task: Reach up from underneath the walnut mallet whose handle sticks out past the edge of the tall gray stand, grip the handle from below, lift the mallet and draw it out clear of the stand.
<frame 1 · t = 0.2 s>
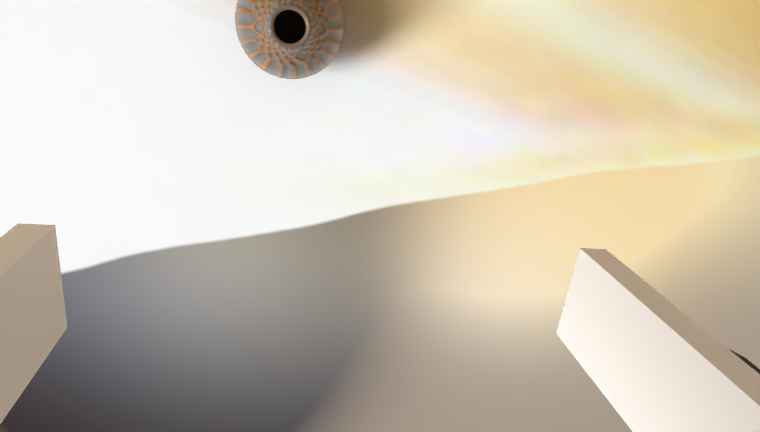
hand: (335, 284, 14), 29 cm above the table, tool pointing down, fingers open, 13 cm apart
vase: (291, 21, 38), on the table
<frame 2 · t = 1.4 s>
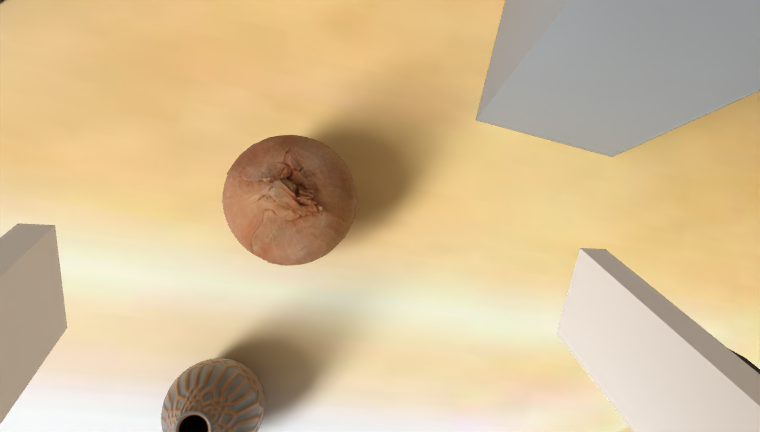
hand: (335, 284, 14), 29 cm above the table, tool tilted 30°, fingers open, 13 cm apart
gray stand: (569, 29, 46), on the table
onion: (298, 208, 43), on the table
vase: (227, 396, 42), on the table
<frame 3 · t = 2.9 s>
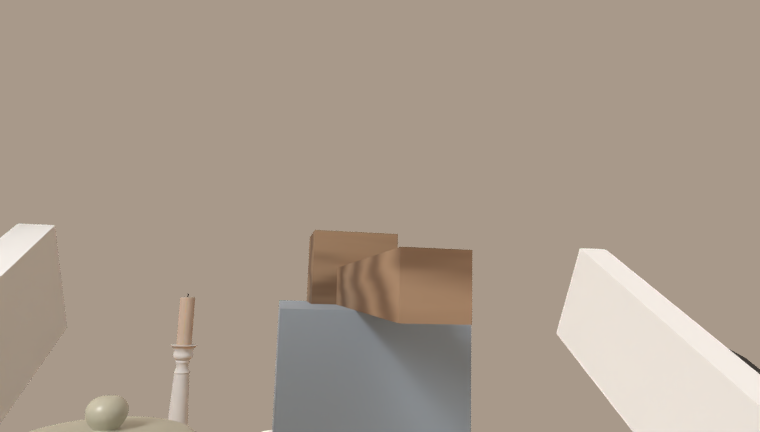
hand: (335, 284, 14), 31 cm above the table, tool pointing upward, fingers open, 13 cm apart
walnut mallet: (370, 308, 36), point 30 cm above the table, touching gray stand
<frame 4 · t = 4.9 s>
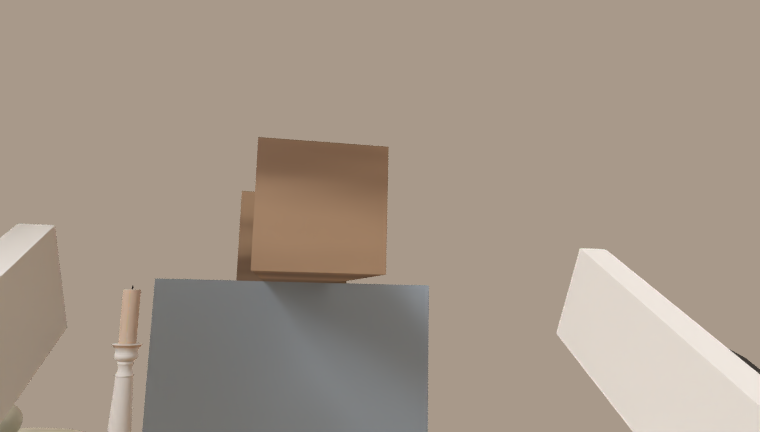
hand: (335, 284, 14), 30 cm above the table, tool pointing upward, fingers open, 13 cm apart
walnut mallet: (296, 283, 26), point 30 cm above the table, touching gray stand
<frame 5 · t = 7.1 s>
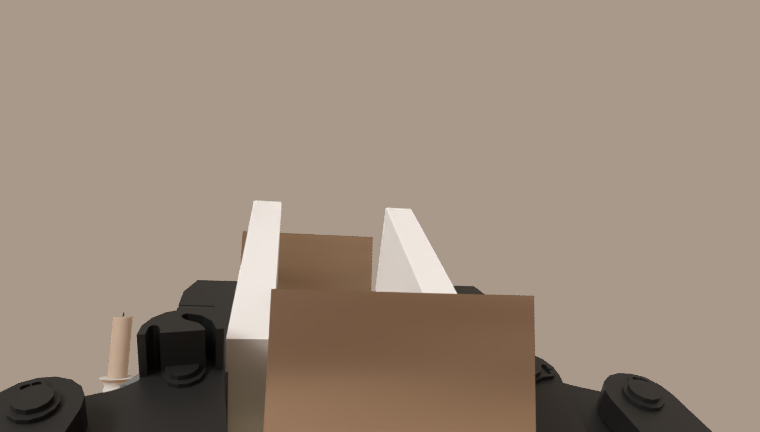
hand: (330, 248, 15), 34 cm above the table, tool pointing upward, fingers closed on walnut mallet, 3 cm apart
walnut mallet: (313, 370, 20), point 30 cm above the table, touching gray stand, gripper
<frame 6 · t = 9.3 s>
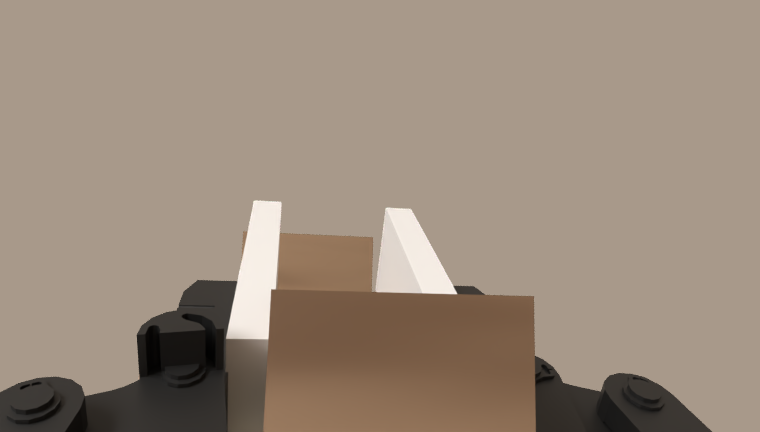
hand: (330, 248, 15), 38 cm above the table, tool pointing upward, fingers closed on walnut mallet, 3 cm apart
walnut mallet: (313, 370, 20), point 34 cm above the table, touching gripper
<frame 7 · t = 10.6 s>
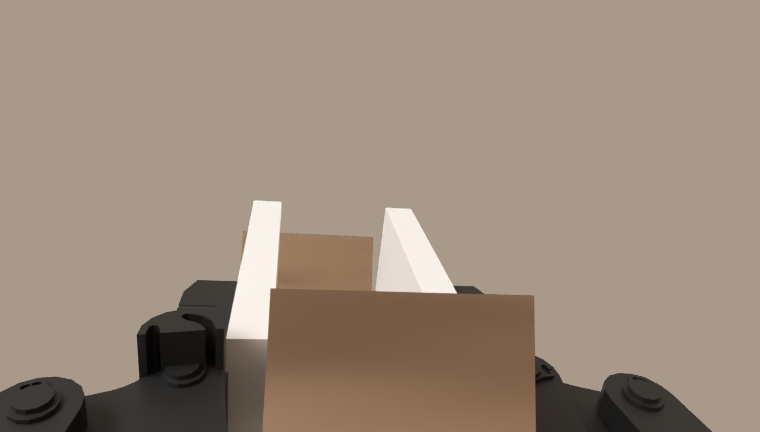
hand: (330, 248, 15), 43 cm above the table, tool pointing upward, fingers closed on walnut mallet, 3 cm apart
walnut mallet: (313, 369, 20), point 38 cm above the table, touching gripper
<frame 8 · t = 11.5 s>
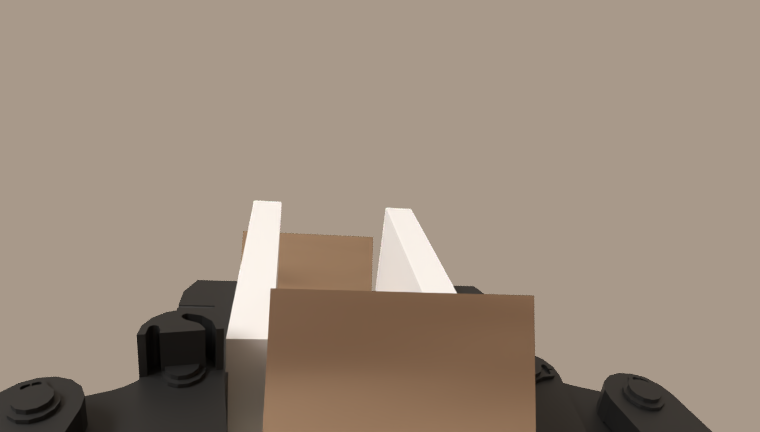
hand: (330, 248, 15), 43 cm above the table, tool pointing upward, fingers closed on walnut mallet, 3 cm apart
walnut mallet: (313, 369, 20), point 38 cm above the table, touching gripper
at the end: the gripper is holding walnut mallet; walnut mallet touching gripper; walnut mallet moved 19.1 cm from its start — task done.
